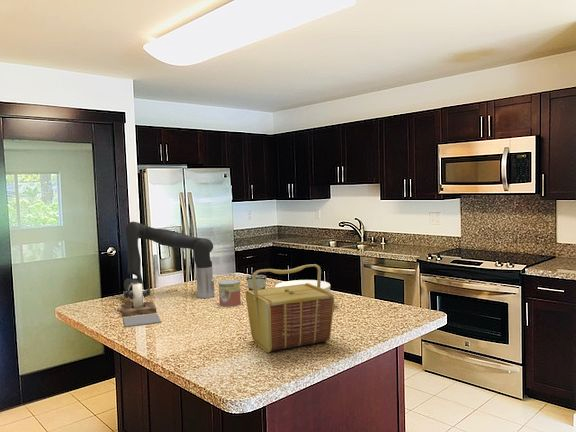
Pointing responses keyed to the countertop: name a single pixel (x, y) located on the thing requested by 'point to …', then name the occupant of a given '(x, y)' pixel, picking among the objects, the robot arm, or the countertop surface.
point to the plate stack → (297, 282)
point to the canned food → (229, 293)
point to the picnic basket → (289, 313)
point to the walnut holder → (138, 309)
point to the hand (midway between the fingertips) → (138, 295)
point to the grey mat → (141, 320)
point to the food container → (259, 282)
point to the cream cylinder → (137, 295)
